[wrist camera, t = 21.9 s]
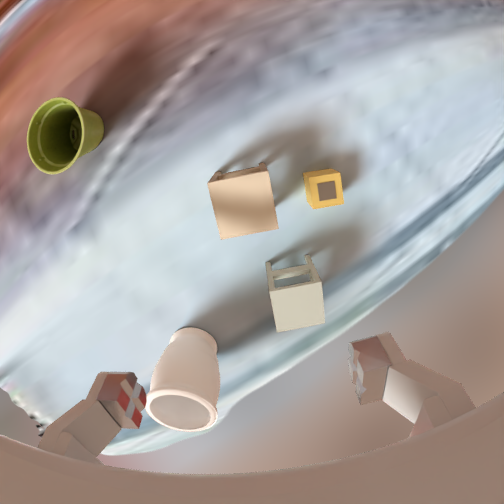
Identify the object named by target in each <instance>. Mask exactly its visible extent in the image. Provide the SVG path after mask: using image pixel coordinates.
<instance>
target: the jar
mask: <svg viewBox="0 0 504 504" xmlns="http://www.w3.org/2000/svg"><path fill="white" fill-rule="evenodd" d="M216 353H217V344H216V341H215V340H214V338H213V337H212V336H211V335H210V334H209V333H207V332H206V331H204V330H201V329H198V328H191V327H190V328H183V329H180V330H178V331H176V332H175V333H174V334H173V335H172V337H171V339H170V344H169V345H168V346H167V347H166V349H165V350H164V352H163V354H162V356H161V357H160V359H159V360H158V362H157V364H156V366H155V369H154V371H153V375H152V379H151V385H150V392H149V393H148V394H147V395H146V398H147V402H146V406H145V409H146V411H147V413H148V414H149V416H150V417H151V418H153V419H154V420H155V421H156V422H158V423H160V424H161V425H163V426H166V427H168V428H171V429H174V430H179V431H186V432H195V431H201V430H205V429H207V428H209V427H211V426H212V425H214V423H215V422H216V420H217V408H216V404H217V401H218V397H219V391H220V374H219V365H218V359H217V356H216Z"/></svg>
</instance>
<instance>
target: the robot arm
mask: <svg viewBox="0 0 504 504" xmlns="http://www.w3.org/2000/svg"><path fill="white" fill-rule="evenodd" d="M348 350H349V353H350V355H351V356H350V358H349V359H348V364H349V365H348V366H349V373H350V377H351V380H352V383H354V384H356V394H357V397H358V400H359V403H360V405H363V404H367V403H371V402H375V401H379V400H383V401H384V402H385V403H387V404H388V405H389V406H391V407H392V408H393V409H395V410H396V411H398V412H399V413H400V414H402V415H403V416H404V417H406V418H407V419H408V420H410V421H411V422H413V423H414V427H413V429H412V431H411V434H410V436H409V438H408V439H405V440H402V441H400V442H396V443H394V444H391V445H388V446H384V447H381V448H378V449H375V450H372V451H368V452H364V453H361V454H357V455H353V456H349V457H345V458H341V459H337V460H332V461H328V462H323V463H318V464H312V465H307V466H301V467H295V468H288V469H280V470H272V471H262V472H251V473H234V474H176V473H175V474H174V473H161V472H150V471H139V470H131V469H125V468H118V467H112V466H106V465H104V464H103V463H102V462H101V461H100V460H99V459H97V458H96V457H97V456H98V455H99V454H100V453H101V452H102V450H103V449H104V448H105V447H106V446H107V445H108V444H109V443H110V442H111V440H112V439H113V438H114V437H115V436H116V435H117V434H118V433H119V431H120V430H121V428H129V429H139V427H140V423H141V420H142V417H143V416H142V414H141V411H142V410H143V409H144V408H145V406H146V402H147V398H146V392H145V390H144V388H143V387H142V385H140V384H138V383H137V377H136V376H135V374H134V373H133V372H100V373H99V374H98V375H97V377H96V379H95V381H94V383H93V385H92V387H91V389H90V391H89V394H88V396H87V398H86V400H82V401H80V402H79V403H78V404H76V405H75V406H74V407H73V408H71V409H70V410H69V411H67V412H66V413H65V414H64V415H62V416H61V417H60V418H58V419H57V420H56V421H54V422H53V423H52V424H51V425H49V426H48V427H47V428H46V430H45V433H44V435H43V437H42V439H41V441H40V443H39V445H38V448H35V447H32V446H30V445H27V444H24V443H21V442H18V441H16V440H13V439H10V438H8V437H5V436H3V435H1V434H0V504H504V392H503V393H501V394H500V395H498V396H496V397H494V398H493V399H491V400H489V401H488V402H486V403H484V404H482V405H480V406H479V407H477V408H476V407H475V406H474V404H473V402H472V401H471V399H470V397H469V396H468V394H467V393H466V391H465V389H464V388H463V386H462V385H461V383H459V382H457V381H454V380H452V379H450V378H448V377H446V376H444V375H441V374H440V373H437V372H435V371H433V370H431V369H429V368H427V367H425V366H423V365H420V364H419V363H416V362H414V361H412V360H406V358H405V357H404V355H403V353H402V352H401V350H400V348H399V347H398V345H397V343H396V342H395V340H394V338H393V337H392V335H391V333H389V332H385V333H382V334H378V335H376V336H371V337H368V338H364V339H360V340H356V341H352V342H349V349H348Z"/></svg>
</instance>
